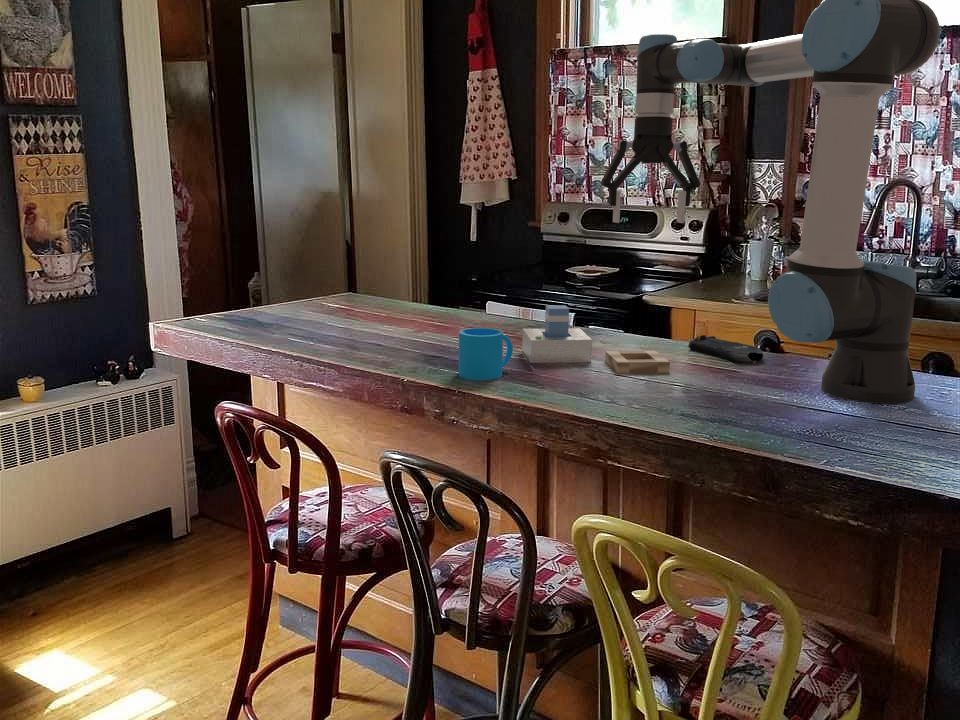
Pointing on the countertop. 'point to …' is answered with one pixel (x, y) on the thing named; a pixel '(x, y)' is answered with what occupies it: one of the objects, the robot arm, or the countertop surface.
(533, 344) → the port block
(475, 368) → the mug
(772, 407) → the countertop surface
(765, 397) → the countertop surface
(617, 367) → the tan flat square frame
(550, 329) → the plug
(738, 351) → the electronic device
